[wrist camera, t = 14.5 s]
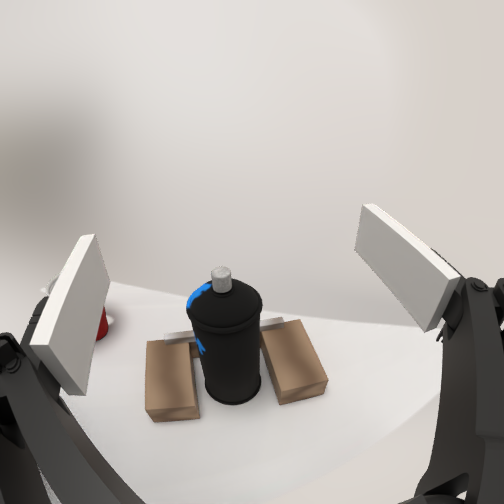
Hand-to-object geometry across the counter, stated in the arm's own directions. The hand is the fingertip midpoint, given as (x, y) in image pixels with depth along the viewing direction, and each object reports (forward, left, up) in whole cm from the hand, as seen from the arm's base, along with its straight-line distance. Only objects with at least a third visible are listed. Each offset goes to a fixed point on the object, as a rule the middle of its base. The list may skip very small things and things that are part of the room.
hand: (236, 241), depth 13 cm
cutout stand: (0, +12, -30) cm, 32 cm away
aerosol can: (0, +12, -30) cm, 32 cm away
